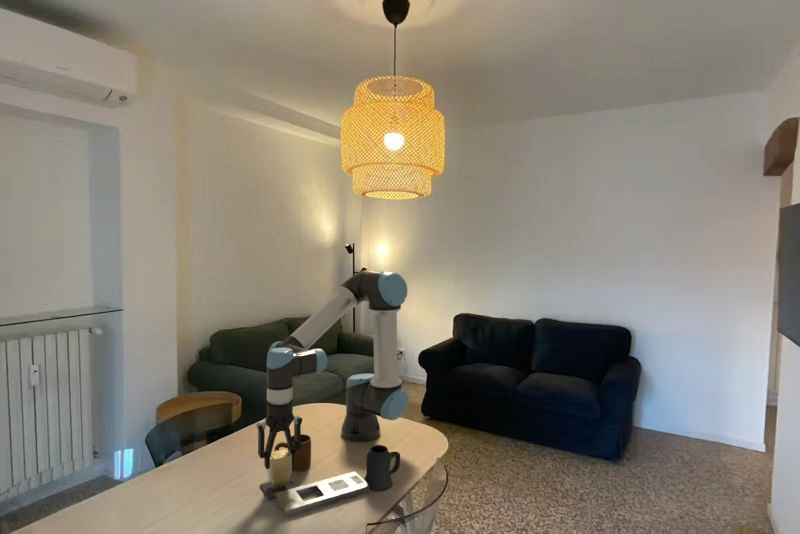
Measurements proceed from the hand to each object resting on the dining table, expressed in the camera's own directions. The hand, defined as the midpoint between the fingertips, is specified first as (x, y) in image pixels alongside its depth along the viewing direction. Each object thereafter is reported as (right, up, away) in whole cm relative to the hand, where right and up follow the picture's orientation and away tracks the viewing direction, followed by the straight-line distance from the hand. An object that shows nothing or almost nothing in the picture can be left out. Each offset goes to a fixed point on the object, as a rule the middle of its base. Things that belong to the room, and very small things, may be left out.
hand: (279, 475), depth 141 cm
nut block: (0, -2, 0) cm, 2 cm away
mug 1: (+1, -4, +14) cm, 14 cm away
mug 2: (+31, -5, +5) cm, 32 cm away
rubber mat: (0, -4, 0) cm, 4 cm away
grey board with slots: (+14, -5, -3) cm, 15 cm away
